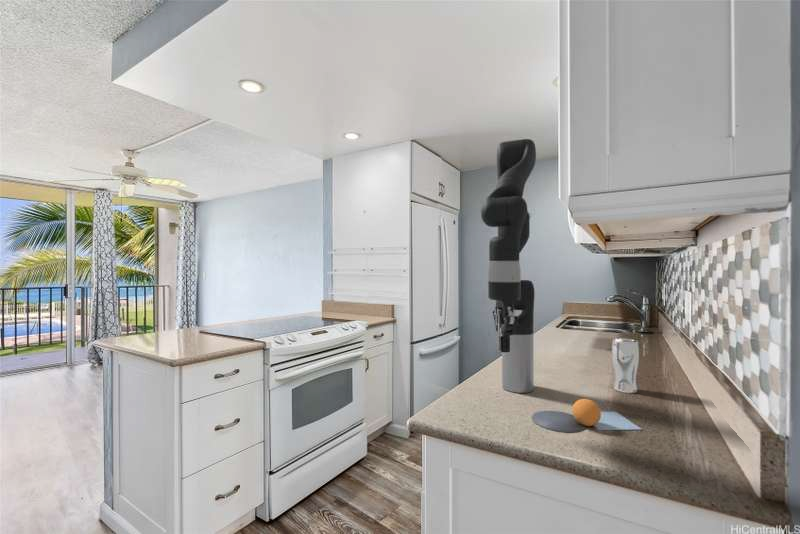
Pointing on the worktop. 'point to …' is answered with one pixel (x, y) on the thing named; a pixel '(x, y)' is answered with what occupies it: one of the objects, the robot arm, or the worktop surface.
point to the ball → (586, 412)
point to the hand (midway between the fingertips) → (504, 351)
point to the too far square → (614, 422)
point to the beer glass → (625, 364)
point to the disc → (557, 421)
